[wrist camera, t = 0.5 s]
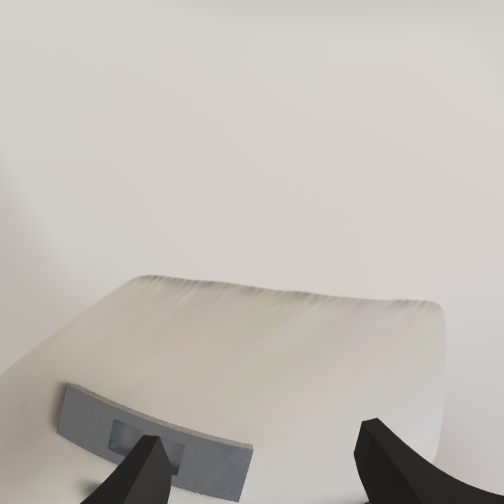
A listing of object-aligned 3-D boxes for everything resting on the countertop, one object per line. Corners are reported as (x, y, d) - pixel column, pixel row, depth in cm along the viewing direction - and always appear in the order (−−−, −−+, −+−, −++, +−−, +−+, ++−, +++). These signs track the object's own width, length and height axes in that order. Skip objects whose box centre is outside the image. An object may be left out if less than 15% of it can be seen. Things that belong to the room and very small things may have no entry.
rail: (238, 494, 27) (238, 502, 24) (67, 431, 29) (56, 432, 26) (252, 444, 30) (253, 449, 28) (78, 385, 32) (67, 383, 29)
